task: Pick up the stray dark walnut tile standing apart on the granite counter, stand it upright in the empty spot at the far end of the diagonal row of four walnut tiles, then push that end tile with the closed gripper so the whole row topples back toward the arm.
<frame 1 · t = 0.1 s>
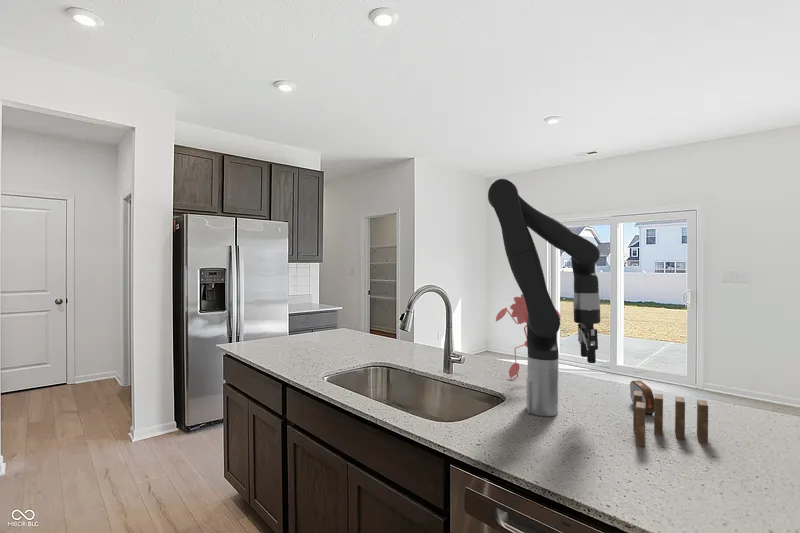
hand: (588, 359, 130), 17 cm above the worktop, tool pointing down, fingers open, 8 cm apart
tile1: (637, 428, 120), on the worktop
tin: (641, 409, 136), on the worktop
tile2: (658, 431, 117), on the worktop
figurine: (525, 382, 167), on the worktop
tile4: (702, 439, 112), on the worktop
tile3: (679, 435, 114), on the worktop
end tile: (640, 443, 109), on the worktop
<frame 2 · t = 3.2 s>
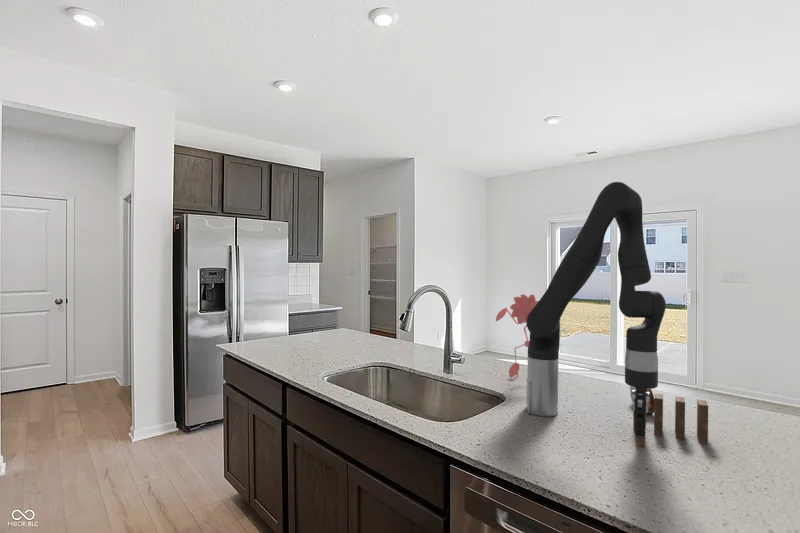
hand: (640, 431, 109), 3 cm above the worktop, tool pointing down, fingers closed on end tile, 5 cm apart
end tile: (640, 443, 109), on the worktop, touching gripper
everything else where it was.
when the fingers open (4 cm above the worktop, at t = 8.2 s): end tile stays where it is, on the worktop.
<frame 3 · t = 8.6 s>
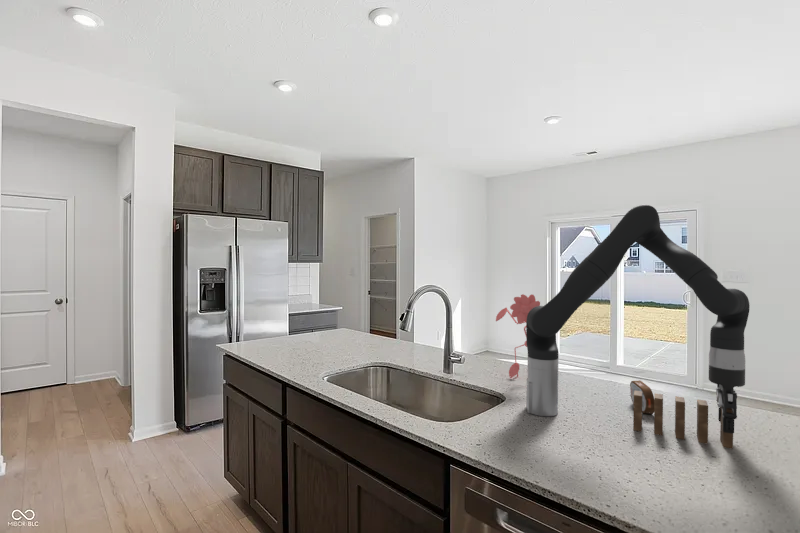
hand: (725, 427, 109), 4 cm above the worktop, tool pointing down, fingers open, 8 cm apart
end tile: (726, 444, 109), on the worktop
everything else where it was.
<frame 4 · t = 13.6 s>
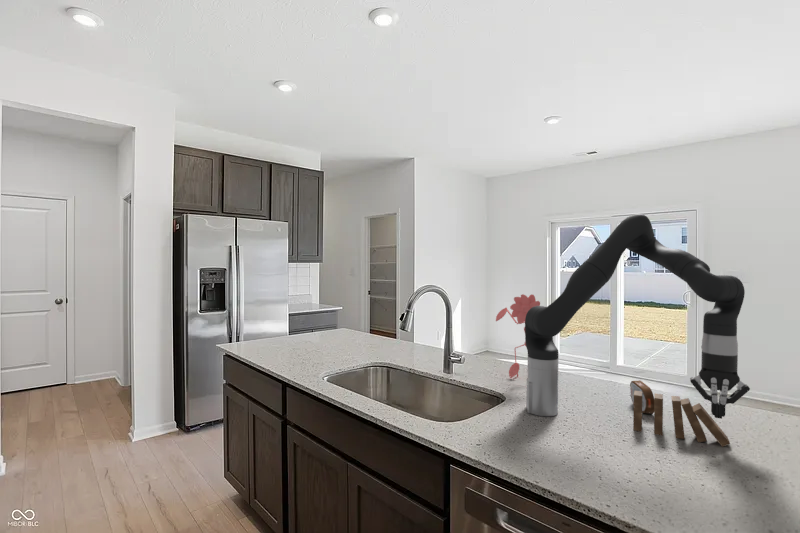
hand: (718, 417, 110), 7 cm above the worktop, tool pointing down, fingers closed
tile4: (701, 438, 112), on the worktop, tilted 23°
tile3: (679, 435, 114), on the worktop, tilted 6°
end tile: (724, 441, 109), point 1 cm above the worktop, tilted 38°
everything else where it was.
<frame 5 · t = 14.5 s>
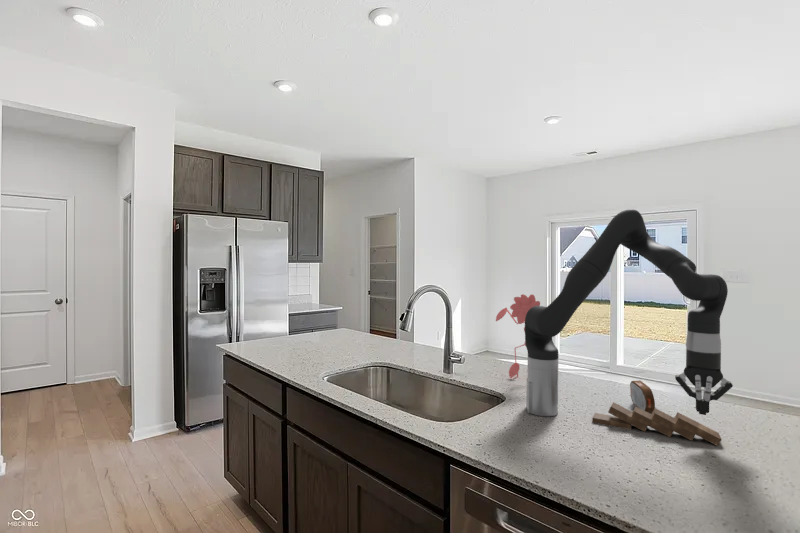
hand: (702, 413, 112), 7 cm above the worktop, tool pointing down, fingers closed
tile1: (631, 425, 121), on the worktop, tilted 90°, touching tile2
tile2: (647, 426, 119), point 1 cm above the worktop, tilted 70°, touching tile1
tile4: (693, 434, 113), point 1 cm above the worktop, tilted 67°, touching end tile, tile3
tile3: (671, 431, 115), point 1 cm above the worktop, tilted 69°, touching tile4
end tile: (718, 439, 110), point 1 cm above the worktop, tilted 67°, touching tile4
everything else where it was.
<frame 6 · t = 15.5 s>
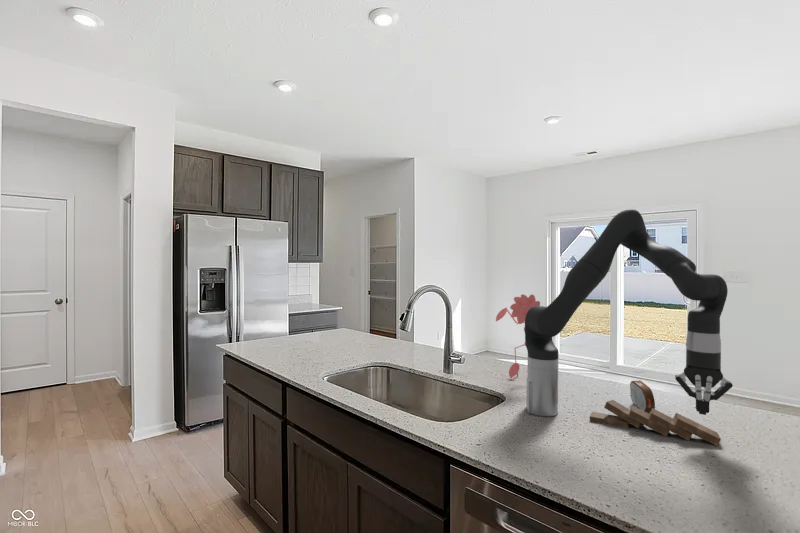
hand: (702, 413, 112), 7 cm above the worktop, tool pointing down, fingers closed
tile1: (628, 424, 121), on the worktop, tilted 90°, touching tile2
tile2: (642, 423, 120), point 1 cm above the worktop, tilted 70°, touching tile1, tile3
tile3: (668, 430, 116), point 1 cm above the worktop, tilted 69°, touching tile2, tile4
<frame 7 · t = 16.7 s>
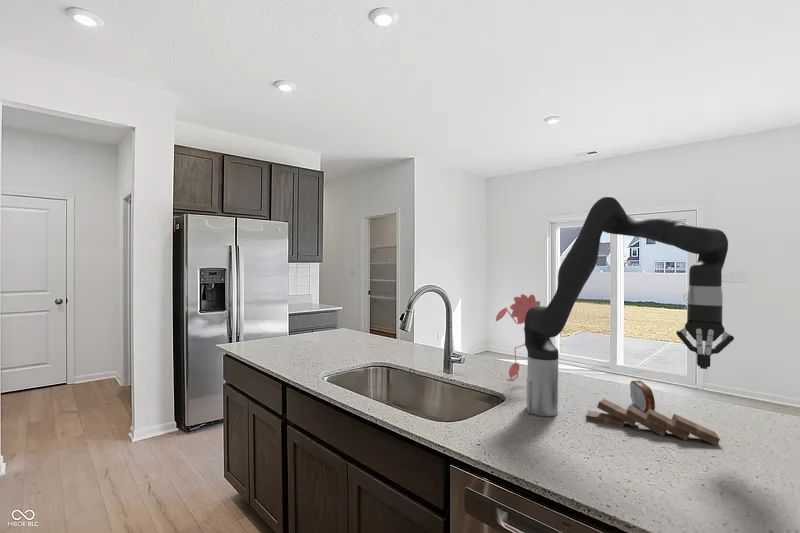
hand: (703, 368, 111), 19 cm above the worktop, tool pointing down, fingers closed
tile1: (624, 422, 122), on the worktop, tilted 90°, touching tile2
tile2: (635, 420, 121), point 2 cm above the worktop, tilted 73°, touching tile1, tile3
tile4: (686, 434, 113), point 1 cm above the worktop, tilted 67°, touching end tile
tile3: (665, 430, 116), point 1 cm above the worktop, tilted 67°, touching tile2
everything else where it was.
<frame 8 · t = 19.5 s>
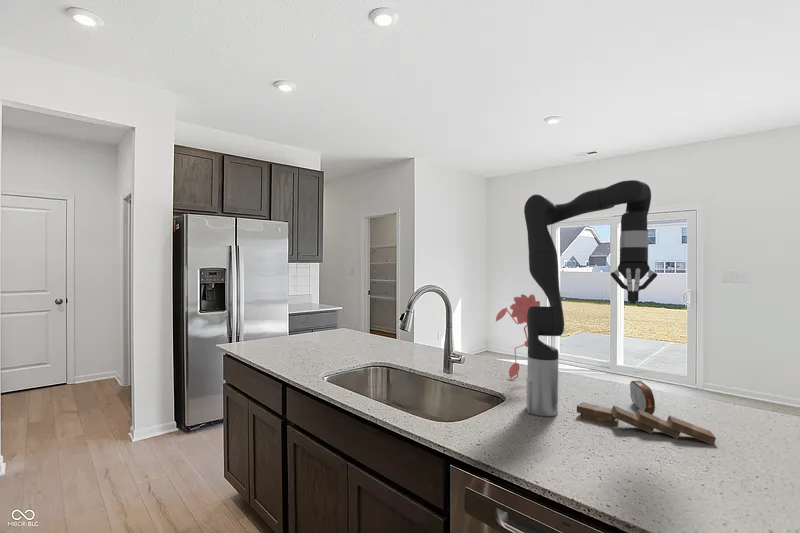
hand: (633, 303, 127), 35 cm above the worktop, tool pointing down, fingers closed
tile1: (618, 421, 123), on the worktop, tilted 90°, touching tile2
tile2: (614, 415, 123), point 2 cm above the worktop, tilted 90°, touching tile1
tile4: (677, 432, 114), point 1 cm above the worktop, tilted 70°, touching end tile, tile3
tile3: (650, 426, 118), point 1 cm above the worktop, tilted 70°, touching tile4
at the end: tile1 tilted 90°; tile3 tilted 70°; end tile inside the target area (2.5 cm from its centre), point 0.9 cm above the worktop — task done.
